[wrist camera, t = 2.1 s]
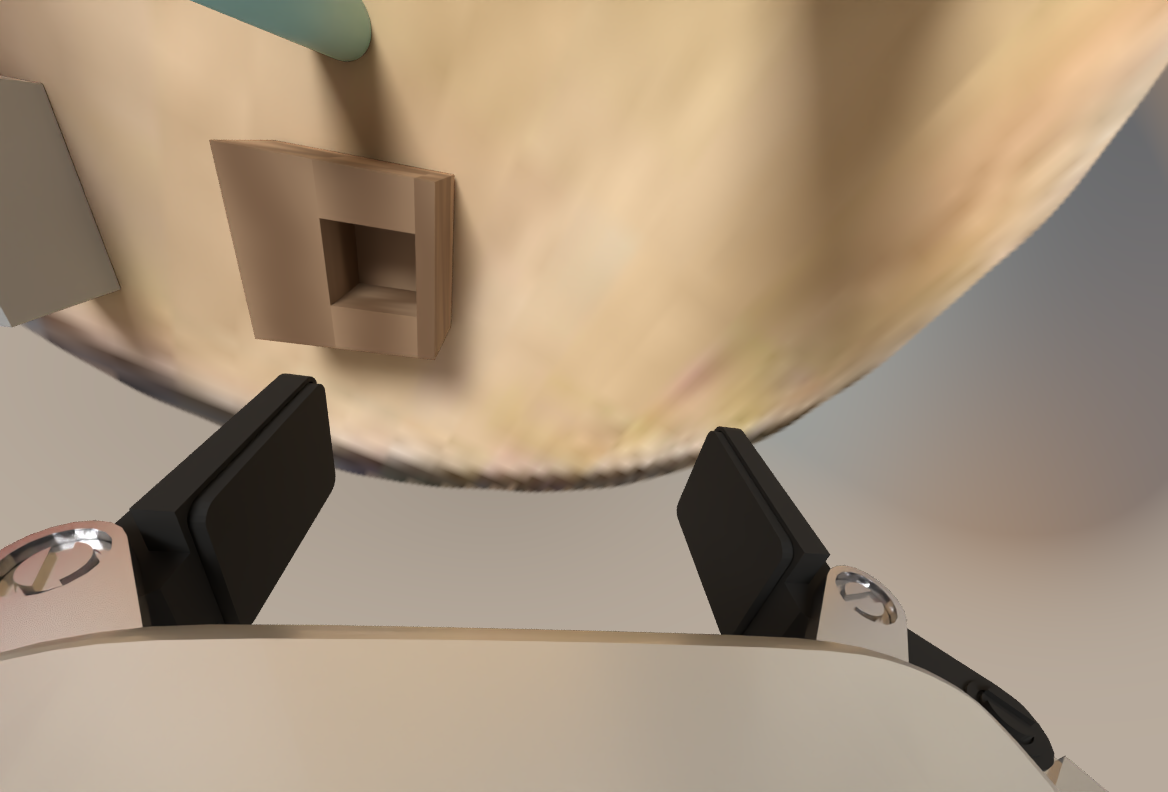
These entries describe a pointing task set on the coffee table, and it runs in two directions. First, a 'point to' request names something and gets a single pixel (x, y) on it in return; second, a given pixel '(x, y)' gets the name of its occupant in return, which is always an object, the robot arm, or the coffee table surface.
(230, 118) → the coffee table surface
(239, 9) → the dowel
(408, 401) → the coffee table surface
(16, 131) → the wall
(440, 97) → the coffee table surface
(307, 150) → the block
